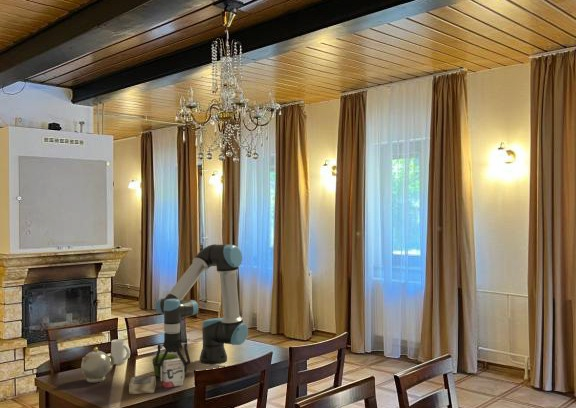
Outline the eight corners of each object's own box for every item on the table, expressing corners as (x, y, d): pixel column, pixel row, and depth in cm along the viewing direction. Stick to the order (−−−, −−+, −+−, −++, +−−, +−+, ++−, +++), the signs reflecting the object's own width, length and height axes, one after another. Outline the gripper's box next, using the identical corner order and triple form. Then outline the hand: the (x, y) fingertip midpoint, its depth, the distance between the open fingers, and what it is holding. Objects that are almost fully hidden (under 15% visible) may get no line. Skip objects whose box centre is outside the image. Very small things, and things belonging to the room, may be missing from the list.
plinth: (155, 384, 272) (155, 375, 273) (154, 392, 260) (154, 382, 260) (131, 385, 271) (131, 376, 271) (129, 394, 258) (129, 384, 258)
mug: (124, 365, 308) (124, 343, 308) (107, 363, 314) (107, 341, 314) (135, 362, 315) (134, 340, 316) (118, 360, 321) (118, 338, 321)
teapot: (91, 386, 270) (91, 351, 270) (74, 382, 278) (74, 348, 278) (122, 378, 284) (122, 344, 285) (105, 373, 292) (105, 341, 293)
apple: (150, 374, 290) (150, 352, 290) (174, 371, 295) (174, 349, 295) (155, 381, 278) (155, 357, 279) (180, 377, 283) (180, 354, 283)
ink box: (166, 388, 266) (165, 362, 266) (162, 385, 270) (161, 360, 270) (183, 385, 271) (183, 360, 271) (179, 382, 275) (178, 358, 275)
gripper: (195, 329, 277) (196, 376, 276) (148, 331, 273) (149, 379, 272) (196, 332, 269) (196, 380, 269) (147, 334, 265) (147, 383, 265)
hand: (172, 379), depth 270 cm, fingers closed on ink box, 9 cm apart
